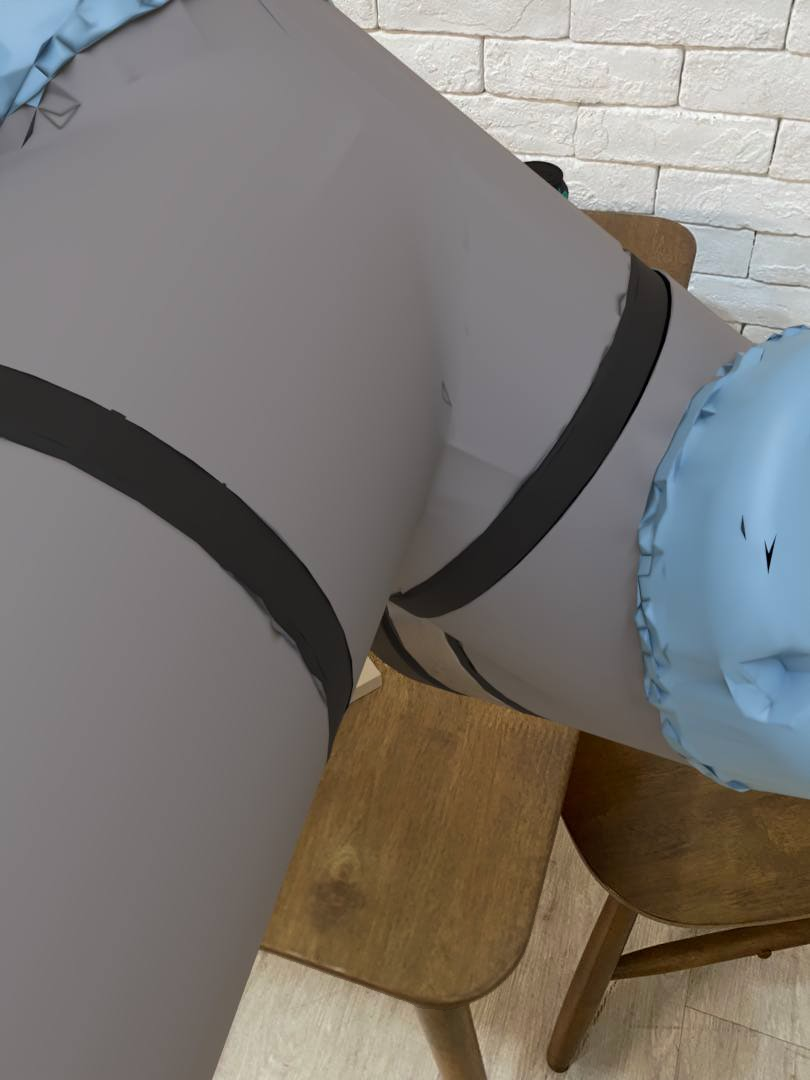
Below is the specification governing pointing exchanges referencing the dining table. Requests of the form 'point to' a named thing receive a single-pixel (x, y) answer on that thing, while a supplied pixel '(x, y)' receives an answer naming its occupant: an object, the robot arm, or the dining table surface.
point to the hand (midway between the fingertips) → (311, 574)
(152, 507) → the robot arm
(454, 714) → the dining table surface
